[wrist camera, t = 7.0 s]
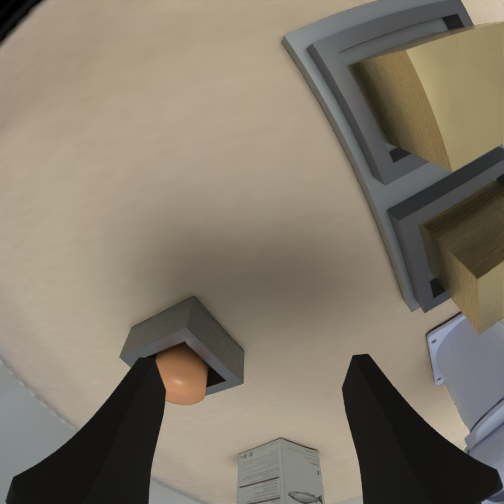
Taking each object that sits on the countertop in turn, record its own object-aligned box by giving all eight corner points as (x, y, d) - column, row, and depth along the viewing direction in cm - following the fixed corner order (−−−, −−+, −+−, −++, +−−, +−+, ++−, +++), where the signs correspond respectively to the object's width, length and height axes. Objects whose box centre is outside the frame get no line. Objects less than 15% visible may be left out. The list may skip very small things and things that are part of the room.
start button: (219, 366, 20) (216, 397, 17) (180, 379, 21) (174, 409, 18) (186, 333, 18) (179, 366, 16) (147, 350, 19) (137, 380, 17)
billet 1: (464, 100, 11) (544, 117, 6) (381, 140, 13) (452, 172, 8) (435, 32, 10) (514, 20, 5) (344, 66, 11) (405, 50, 6)
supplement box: (319, 449, 31) (331, 537, 20) (275, 466, 33) (279, 545, 22) (281, 435, 28) (288, 538, 17) (235, 453, 31) (233, 543, 20)
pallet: (503, 235, 17) (526, 254, 14) (403, 298, 19) (420, 326, 17) (427, -8, 10) (455, -20, 7) (281, 41, 12) (288, 28, 9)
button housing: (244, 351, 21) (243, 383, 19) (182, 374, 23) (176, 403, 20) (194, 295, 19) (186, 327, 16) (131, 327, 20) (119, 357, 18)
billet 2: (496, 229, 15) (551, 277, 10) (430, 271, 16) (478, 335, 11) (488, 177, 13) (557, 217, 8) (416, 220, 15) (477, 279, 10)
